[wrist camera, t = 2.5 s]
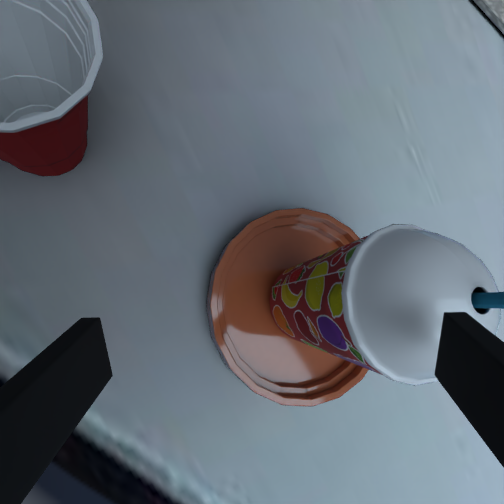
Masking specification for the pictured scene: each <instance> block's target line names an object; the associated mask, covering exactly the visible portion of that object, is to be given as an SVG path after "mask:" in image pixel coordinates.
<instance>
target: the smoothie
mask: <svg viewBox="0 0 504 504" xmlns="http://www.w3.org/2000/svg"><path fill="white" fill-rule="evenodd" d="M501 309H504V292H499V290H498V288H497V285H496V283H495V280H494V278H493V276H492V274H491V273H490V271H489V270H488V268H487V267H486V266H485V264H484V263H483V261H482V260H481V259H479V258H478V257H477V256H476V255H475V254H474V253H472V252H471V251H470V250H469V249H468V248H466V247H465V246H464V245H463V244H461V243H459V242H457V241H455V240H452V239H450V238H447V237H445V236H442V235H440V234H437V233H433V232H430V231H427V230H425V229H422V228H420V227H417V226H415V225H406V224H392V225H390V226H387V227H385V228H382V229H380V230H377V231H375V232H373V233H371V234H370V235H368V236H366V237H364V238H361V239H359V240H356V241H354V242H351V243H349V244H347V245H344V246H342V247H339V248H337V249H335V250H332V251H330V252H327V253H325V254H322V255H320V256H318V257H315V258H313V259H310V260H308V261H306V262H303V263H301V264H298V265H296V266H293V267H291V268H289V269H286V270H285V271H284V272H283V273H282V274H281V275H280V276H278V277H277V279H276V281H275V283H274V285H273V286H272V289H271V294H270V311H271V314H272V317H273V319H274V321H275V324H276V325H277V326H278V327H279V329H280V330H281V331H282V332H283V333H284V334H286V335H287V336H289V337H290V338H292V339H294V340H297V341H299V342H302V343H304V344H307V345H309V346H312V347H314V348H317V349H319V350H322V351H324V352H327V353H329V354H332V355H334V356H337V357H339V358H342V359H344V360H346V361H349V362H351V363H354V364H356V365H359V366H361V367H364V368H366V369H369V370H371V371H374V372H376V373H379V374H381V375H384V376H386V377H387V378H389V379H390V380H392V381H396V382H400V383H404V384H408V385H413V386H416V385H421V384H427V383H433V382H436V381H437V380H438V379H437V378H436V376H435V375H434V374H435V367H436V361H437V354H438V348H439V341H440V335H441V328H442V321H443V315H444V312H466V313H468V314H469V315H470V316H471V317H473V318H474V319H475V320H476V321H478V322H479V323H480V324H481V325H483V326H484V327H485V328H486V329H488V330H489V331H490V332H491V333H493V334H494V335H495V336H496V333H497V330H498V326H499V323H500V320H501Z"/></svg>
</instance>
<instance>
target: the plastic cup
mask: <svg viewBox="0 0 504 504" xmlns="http://www.w3.org/2000/svg"><path fill="white" fill-rule="evenodd" d="M102 59H103V51H102V44H101V37H100V30H99V23H98V19H97V17H96V15H95V14H94V12H93V10H92V9H91V7H90V5H89V4H88V2H87V0H0V159H1V160H3V161H6V162H9V163H10V164H12V165H14V166H16V167H17V168H19V169H21V170H22V171H26V172H29V173H33V174H37V175H40V176H56V175H61V174H63V173H66V172H68V171H71V170H73V169H74V168H75V167H76V166H77V165H78V164H79V163H80V162H81V161H82V158H83V156H84V153H85V150H86V147H87V134H86V132H87V129H88V94H89V93H90V91H91V88H92V85H93V83H94V80H95V77H96V75H97V72H98V69H99V67H100V64H101V61H102Z"/></svg>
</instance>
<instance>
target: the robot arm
mask: <svg viewBox="0 0 504 504" xmlns="http://www.w3.org/2000/svg"><path fill="white" fill-rule="evenodd" d="M434 375H435V376H436V378H437V379H438V380H439V382H440V383H441V384H442V386H443V387H444V388H445V390H446V391H447V392H448V394H449V395H450V396H451V398H452V399H453V401H454V402H455V403H456V405H457V406H458V407H459V409H460V410H461V411H462V413H463V414H464V415H465V417H466V418H467V419H468V421H469V422H470V423H471V425H472V426H473V427H474V429H475V430H476V431H477V433H478V434H479V435H480V437H481V438H482V439H483V441H484V442H485V443H486V445H487V446H488V447H489V449H490V450H491V451H492V453H493V454H494V455H495V457H496V458H497V459H498V461H499V462H500V463H501V465H502V466H503V467H504V342H503V341H501V340H500V339H499V338H498V337H496V336H495V335H494V334H493V333H491V332H490V331H489V330H488V329H486V328H485V327H484V326H483V325H481V324H480V323H479V322H478V321H476V320H475V319H474V318H473V317H471V316H470V315H469V314H468V313H466V312H444V315H443V321H442V328H441V335H440V341H439V348H438V354H437V361H436V367H435V374H434ZM112 376H113V375H112V370H111V366H110V361H109V357H108V352H107V348H106V343H105V338H104V334H103V329H102V325H101V320H100V318H81V319H80V320H78V321H77V322H76V323H75V324H74V325H73V326H71V327H70V328H69V329H68V330H67V331H66V332H64V333H63V334H62V335H61V336H60V337H59V338H57V339H56V340H55V341H54V342H53V343H52V344H50V345H49V346H48V347H47V348H46V349H45V350H43V351H42V352H41V353H40V354H39V355H38V356H36V357H35V358H34V359H33V360H32V361H31V362H29V363H28V364H27V365H26V366H25V367H24V368H23V369H21V370H20V371H19V372H18V373H17V374H16V375H14V376H13V377H12V378H11V379H10V380H9V381H7V382H6V383H5V384H4V385H3V386H2V387H0V504H21V503H22V501H23V500H24V498H25V497H26V496H27V495H28V493H29V492H30V490H31V489H32V488H33V486H34V485H35V483H36V482H37V481H38V479H39V478H40V476H41V475H42V474H43V472H44V471H45V469H46V468H47V467H48V465H49V464H50V462H51V461H52V460H53V458H54V457H55V455H56V454H57V453H58V451H59V450H60V448H61V447H62V446H63V444H64V443H65V441H66V440H67V439H68V437H69V436H70V434H71V433H72V432H73V430H74V429H75V427H76V426H77V425H78V423H79V422H80V420H81V419H82V418H83V416H84V415H85V413H86V412H87V411H88V409H89V408H90V407H91V405H92V404H93V402H94V401H95V400H96V398H97V397H98V395H99V394H100V393H101V391H102V390H103V388H104V387H105V386H106V384H107V383H108V381H109V380H110V379H111V377H112Z"/></svg>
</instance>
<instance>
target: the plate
mask: <svg viewBox="0 0 504 504" xmlns="http://www.w3.org/2000/svg"><path fill="white" fill-rule="evenodd" d="M359 239H360V238H359V237H358V236H357V235H356V234H355V233H354V232H353V231H352V229H350V228H349V227H348V226H346V225H344V224H343V223H341V222H339V221H338V220H336V219H335V218H333V217H331V216H330V215H328V214H324V213H320V212H316V211H312V210H308V209H304V208H297V209H286V210H276V211H273V212H271V213H269V214H267V215H265V216H263V217H260V218H258V219H256V220H254V221H252V222H250V223H249V224H248V225H247V226H245V227H244V228H243V229H242V230H241V231H240V232H239V233H238V234H237V235H236V236H235V237H234V238H233V239H232V240H231V241H230V242H229V243H228V244H227V245H226V246H225V247H224V249H223V251H222V253H221V255H220V257H219V259H218V261H217V263H216V265H215V267H214V268H213V270H212V272H211V273H212V274H211V277H210V284H209V290H208V296H207V303H206V304H207V305H206V306H207V313H208V320H209V326H210V333H211V337H212V339H213V341H214V343H215V345H216V347H217V349H218V351H219V353H220V355H221V357H222V359H223V361H224V363H225V365H226V366H227V367H228V368H229V369H230V370H231V371H232V372H233V373H234V374H235V375H236V376H237V377H238V378H239V379H240V380H241V381H242V382H243V383H244V384H245V385H246V386H247V387H249V388H250V389H251V390H252V391H253V392H254V393H256V394H259V395H261V396H263V397H265V398H268V399H270V400H272V401H274V402H277V403H279V404H281V405H290V406H315V405H318V404H321V403H324V402H327V401H330V400H333V399H336V398H339V397H341V396H342V395H343V394H344V393H346V392H347V391H348V390H350V389H351V388H352V387H353V386H355V385H356V384H357V383H358V382H360V381H361V380H362V379H363V377H364V376H365V374H366V373H367V371H368V370H369V369H366V368H364V367H361V366H359V365H356V364H354V363H351V362H349V361H346V360H344V359H342V358H339V357H337V356H334V355H332V354H329V353H327V352H324V351H322V350H319V349H317V348H314V347H312V346H309V345H307V344H304V343H302V342H299V341H297V340H294V339H292V338H290V337H289V336H287V335H286V334H284V333H283V332H282V331H281V330H280V329H279V327H278V326H277V325H276V324H275V321H274V319H273V317H272V314H271V311H270V294H271V289H272V286H273V285H274V283H275V281H276V279H277V277H278V276H280V275H281V274H282V273H283V272H284V271H285V270H286V269H289V268H291V267H293V266H296V265H298V264H301V263H303V262H306V261H308V260H310V259H313V258H315V257H318V256H320V255H322V254H325V253H327V252H330V251H332V250H335V249H337V248H339V247H342V246H344V245H347V244H349V243H351V242H354V241H356V240H359Z"/></svg>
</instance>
